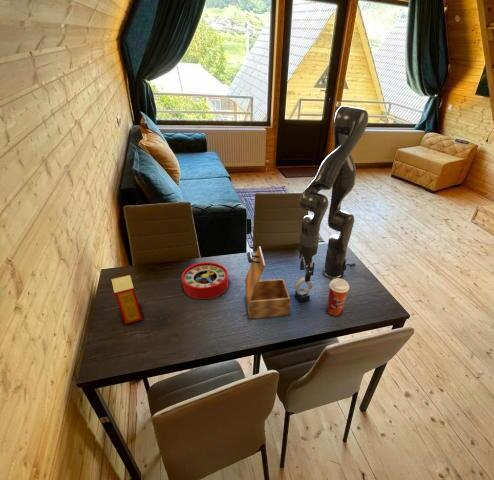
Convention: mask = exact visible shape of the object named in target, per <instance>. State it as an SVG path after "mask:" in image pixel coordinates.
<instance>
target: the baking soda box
mask: <svg viewBox="0 0 494 480" xmlns="http://www.w3.org/2000/svg"><path fill="white" fill-rule="evenodd" d="M110 281H111V283H112V284H111V285H112V289H113V294H114V296H115V299H116V302H117V306H118V308H119V311H120V314H121V317H122V320H123V323H124V325H128V324H132V323H134V322H138V321H142V320H144V318H143V314H142V311H141V308H140V306H139V300H138V297H137V294H136V291H135V288H134V285H133V280H132V277H131V274H127V275H122V276H119V277H113V278H111V280H110Z"/></svg>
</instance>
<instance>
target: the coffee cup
mask: <svg viewBox="0 0 494 480" xmlns="http://www.w3.org/2000/svg"><path fill="white" fill-rule="evenodd" d="M328 286H329V291H328V299H327V300H328V301H327V313H328V314H329V315H330V316H335V317H337V316H339V315H341V314H342V311H343V308H344V305H345V302H346V299H347V295H348V291H350V284H349V282H348V281H347V280H345V279H344V278H341V277H340V278H336V279H332V280H331V281H330V282H329V284H328Z"/></svg>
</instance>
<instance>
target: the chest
mask: <svg viewBox="0 0 494 480" xmlns="http://www.w3.org/2000/svg"><path fill="white" fill-rule="evenodd" d="M245 301H246V308H247V314H248V319H249V320H251V319H252V320H253V319H261V318H263V319H264V318H272V317H283V316H290V309H291V295H290V293H289V289H288V286H287V284H286V281H285V278H273V279H260V280H259V282H258V284H257V286H256V289H255V291H254V293H253V295H252V298H251V300H250V302H249V301H248V298H247V292H246V291H245Z"/></svg>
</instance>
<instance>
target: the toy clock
mask: <svg viewBox="0 0 494 480" xmlns="http://www.w3.org/2000/svg"><path fill="white" fill-rule="evenodd" d="M181 282H182V287H183V291H184V293H185V294H186V295H187V296H189V297H191V298H194V299H198V300H199V299H200V300H209V299H213V298H217V297H219V296H220V295H223V294H224V293H225V292H226V291H227V289H228V287H229V274H228V270H227V268H226V267H225V266H223V265H221V264H220V263H217V262H210V261H209V262H208V261H206V262H205V261H204V262H198V263H194V264H191V265H190V266H188V267H187V268H185V269H184V271H183V272H182V274H181Z"/></svg>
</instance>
